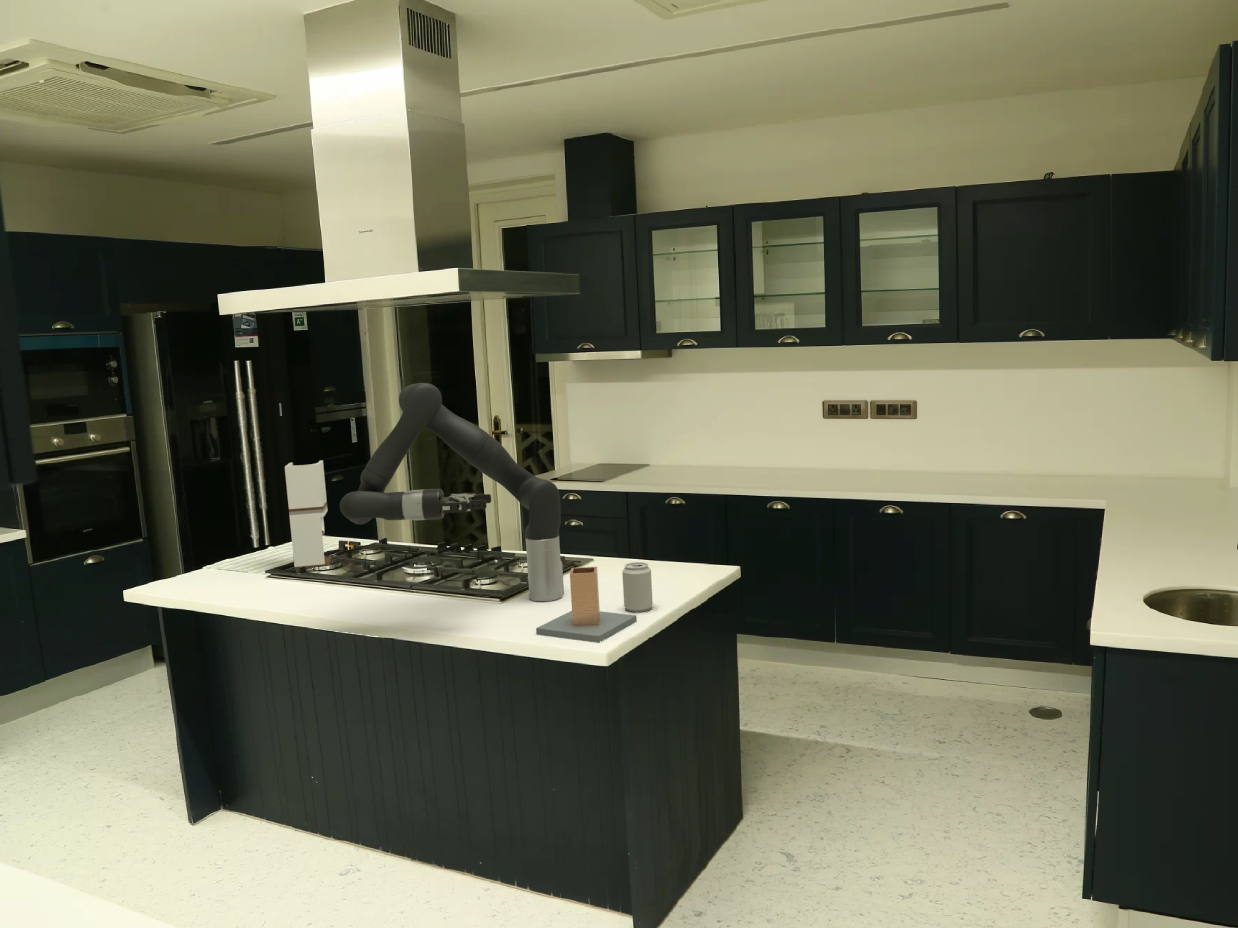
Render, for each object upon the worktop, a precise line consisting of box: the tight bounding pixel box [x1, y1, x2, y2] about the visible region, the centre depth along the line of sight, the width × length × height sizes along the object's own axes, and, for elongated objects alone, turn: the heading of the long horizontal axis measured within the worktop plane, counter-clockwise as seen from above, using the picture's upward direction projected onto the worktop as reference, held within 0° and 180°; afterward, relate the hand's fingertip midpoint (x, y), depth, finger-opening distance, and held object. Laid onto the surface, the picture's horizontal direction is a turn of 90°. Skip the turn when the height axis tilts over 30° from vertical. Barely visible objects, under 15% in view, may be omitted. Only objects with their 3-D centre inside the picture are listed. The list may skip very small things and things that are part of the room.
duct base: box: [535, 610, 637, 643], centre depth 240 cm, size 18×18×6 cm
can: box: [621, 561, 654, 613], centre depth 254 cm, size 8×8×12 cm
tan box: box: [569, 566, 601, 626], centre depth 239 cm, size 6×6×13 cm
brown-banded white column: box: [284, 460, 333, 570], centre depth 322 cm, size 11×11×35 cm
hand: (488, 501), depth 242 cm, fingers open, 8 cm apart
